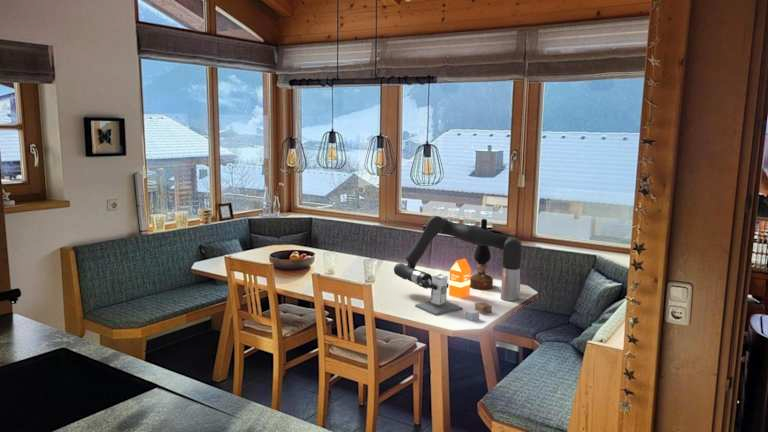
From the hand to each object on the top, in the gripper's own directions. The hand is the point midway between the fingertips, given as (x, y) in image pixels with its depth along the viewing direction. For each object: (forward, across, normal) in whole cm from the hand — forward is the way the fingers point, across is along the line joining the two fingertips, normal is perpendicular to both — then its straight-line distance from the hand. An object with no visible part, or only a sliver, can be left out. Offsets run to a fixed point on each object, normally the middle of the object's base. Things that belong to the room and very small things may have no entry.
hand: (442, 286), depth 298 cm
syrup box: (-2, 0, +9) cm, 9 cm away
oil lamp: (-19, +46, +12) cm, 51 cm away
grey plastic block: (+19, +3, +12) cm, 22 cm away
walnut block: (+14, +15, +12) cm, 24 cm away
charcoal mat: (-2, 0, +12) cm, 12 cm away
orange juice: (-13, +24, +12) cm, 30 cm away
